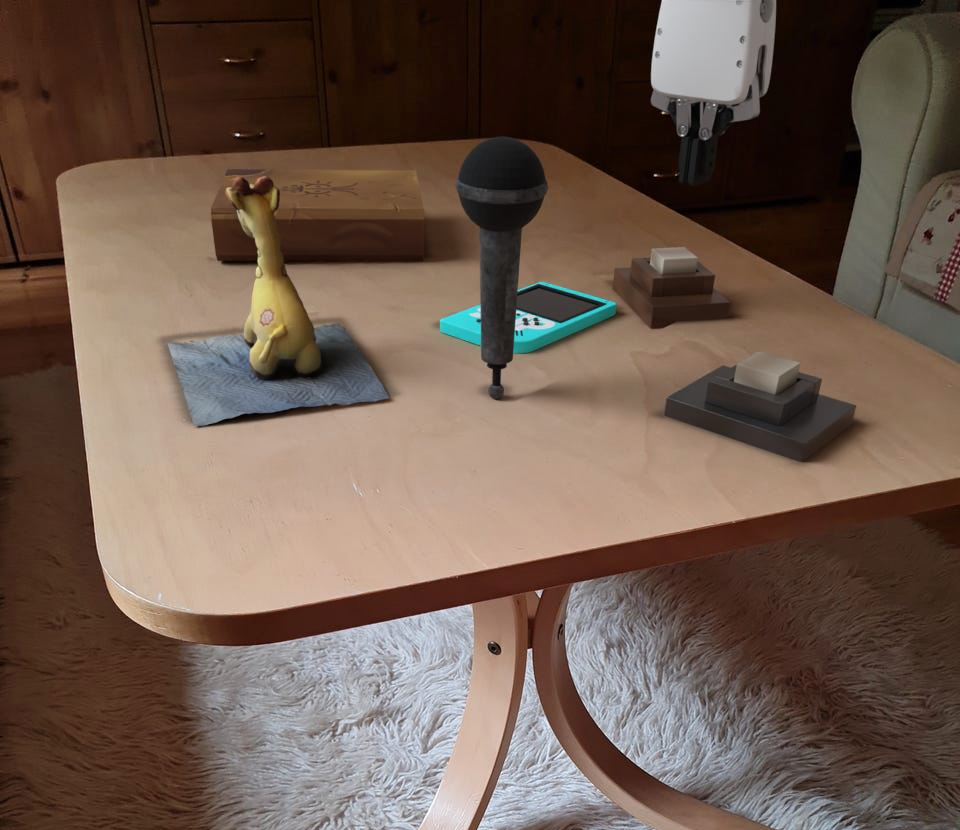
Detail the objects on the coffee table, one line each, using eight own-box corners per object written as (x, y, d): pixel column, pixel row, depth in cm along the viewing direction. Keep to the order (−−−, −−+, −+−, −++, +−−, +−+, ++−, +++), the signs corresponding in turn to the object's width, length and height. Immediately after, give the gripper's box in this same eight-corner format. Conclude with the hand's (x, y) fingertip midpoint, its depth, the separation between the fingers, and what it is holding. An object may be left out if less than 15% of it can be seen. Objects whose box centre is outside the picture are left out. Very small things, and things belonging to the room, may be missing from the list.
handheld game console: (436, 330, 97) (436, 316, 96) (539, 291, 107) (540, 278, 106) (517, 358, 92) (517, 344, 91) (617, 314, 101) (619, 300, 101)
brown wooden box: (217, 265, 112) (209, 210, 108) (233, 218, 126) (227, 169, 123) (424, 262, 114) (423, 208, 110) (416, 217, 128) (415, 168, 125)
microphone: (483, 422, 81) (488, 151, 69) (440, 392, 86) (437, 133, 73) (552, 404, 84) (569, 142, 72) (507, 375, 89) (516, 124, 76)
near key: (796, 384, 79) (800, 362, 78) (774, 398, 77) (779, 376, 76) (754, 371, 81) (758, 350, 80) (732, 385, 79) (736, 363, 78)
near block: (850, 430, 81) (862, 383, 79) (799, 469, 76) (811, 420, 73) (718, 389, 87) (726, 344, 85) (662, 422, 82) (669, 375, 79)
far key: (695, 275, 100) (698, 257, 99) (661, 277, 100) (663, 259, 99) (682, 264, 103) (685, 246, 102) (649, 266, 103) (651, 248, 101)
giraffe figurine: (338, 324, 97) (320, 145, 87) (390, 405, 84) (377, 206, 74) (168, 349, 93) (129, 164, 83) (196, 438, 80) (153, 232, 70)
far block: (727, 324, 100) (734, 283, 97) (650, 329, 98) (655, 287, 96) (683, 285, 109) (688, 247, 107) (612, 289, 108) (616, 250, 105)
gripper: (825, -49, 84) (784, 187, 95) (670, -56, 91) (649, 163, 102) (783, -45, 79) (745, 203, 90) (624, -53, 87) (607, 177, 98)
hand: (694, 181), depth 96 cm, fingers closed
